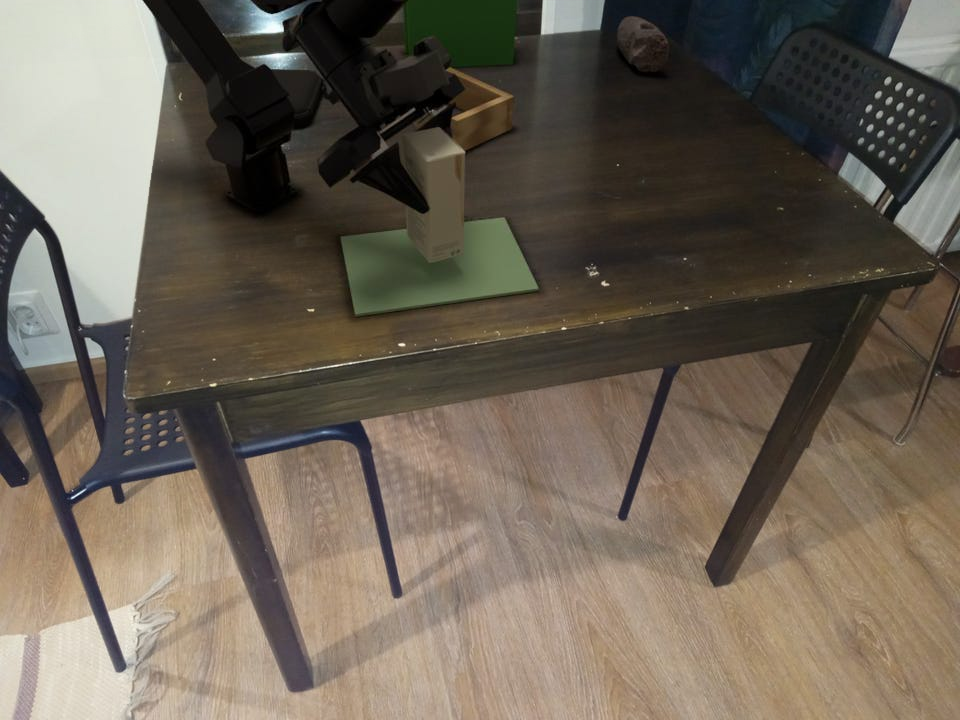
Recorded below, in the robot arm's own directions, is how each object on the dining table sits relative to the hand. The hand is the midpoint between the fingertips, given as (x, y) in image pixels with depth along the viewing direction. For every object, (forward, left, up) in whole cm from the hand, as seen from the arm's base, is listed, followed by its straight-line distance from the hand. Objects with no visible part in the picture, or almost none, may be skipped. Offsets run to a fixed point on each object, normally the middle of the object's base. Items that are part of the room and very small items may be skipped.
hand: (444, 196), depth 72 cm
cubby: (+27, +23, -9) cm, 37 cm away
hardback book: (+47, +35, -9) cm, 59 cm away
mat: (0, +1, -9) cm, 9 cm away
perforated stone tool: (+66, +11, -9) cm, 67 cm away
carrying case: (+16, +43, -9) cm, 47 cm away
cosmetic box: (0, +1, -7) cm, 7 cm away
